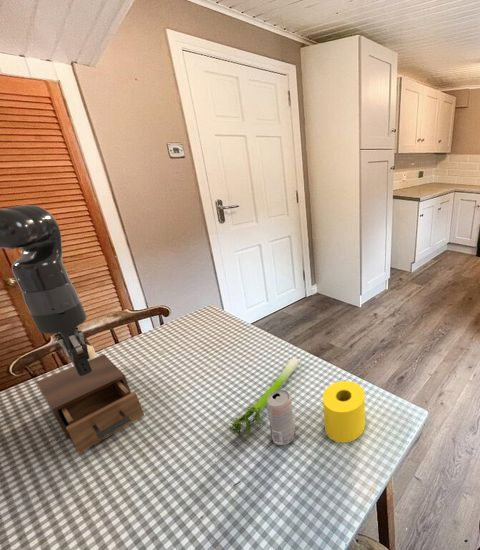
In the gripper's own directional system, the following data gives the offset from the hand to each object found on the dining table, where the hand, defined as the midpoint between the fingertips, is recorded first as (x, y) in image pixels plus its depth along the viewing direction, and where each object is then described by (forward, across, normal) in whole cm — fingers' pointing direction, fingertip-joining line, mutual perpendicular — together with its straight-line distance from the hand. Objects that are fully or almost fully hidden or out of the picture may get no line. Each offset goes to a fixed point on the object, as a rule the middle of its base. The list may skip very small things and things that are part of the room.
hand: (85, 372), depth 69 cm
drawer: (+16, -1, 0) cm, 16 cm away
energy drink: (+17, +37, +24) cm, 47 cm away
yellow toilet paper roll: (+17, +47, +34) cm, 61 cm away
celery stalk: (+17, +25, +29) cm, 42 cm away
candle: (+17, -29, +4) cm, 34 cm away
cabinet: (+17, -13, 0) cm, 21 cm away
